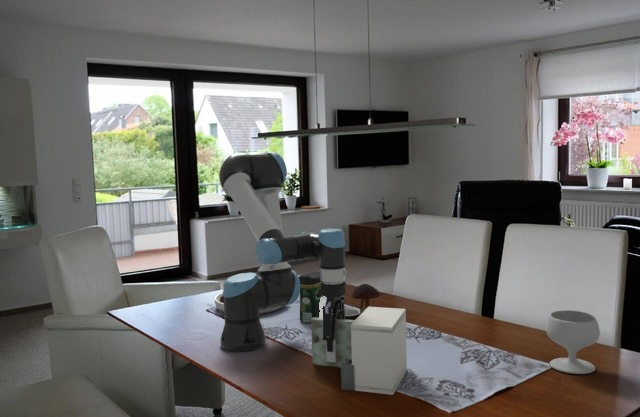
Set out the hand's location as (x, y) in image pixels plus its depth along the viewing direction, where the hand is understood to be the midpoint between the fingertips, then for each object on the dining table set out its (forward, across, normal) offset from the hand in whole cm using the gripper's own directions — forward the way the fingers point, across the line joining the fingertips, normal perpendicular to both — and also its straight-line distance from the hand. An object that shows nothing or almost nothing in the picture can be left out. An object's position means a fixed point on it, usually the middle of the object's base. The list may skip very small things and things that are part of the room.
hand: (335, 356), depth 172 cm
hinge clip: (+3, -14, -9) cm, 17 cm away
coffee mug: (+3, +23, +3) cm, 23 cm away
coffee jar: (+3, +41, +23) cm, 47 cm away
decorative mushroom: (+3, +42, +2) cm, 42 cm away
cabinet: (+3, -7, -16) cm, 17 cm away
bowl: (+3, +54, +55) cm, 77 cm away
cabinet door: (+3, 0, 0) cm, 3 cm away
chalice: (+3, +16, -66) cm, 68 cm away
